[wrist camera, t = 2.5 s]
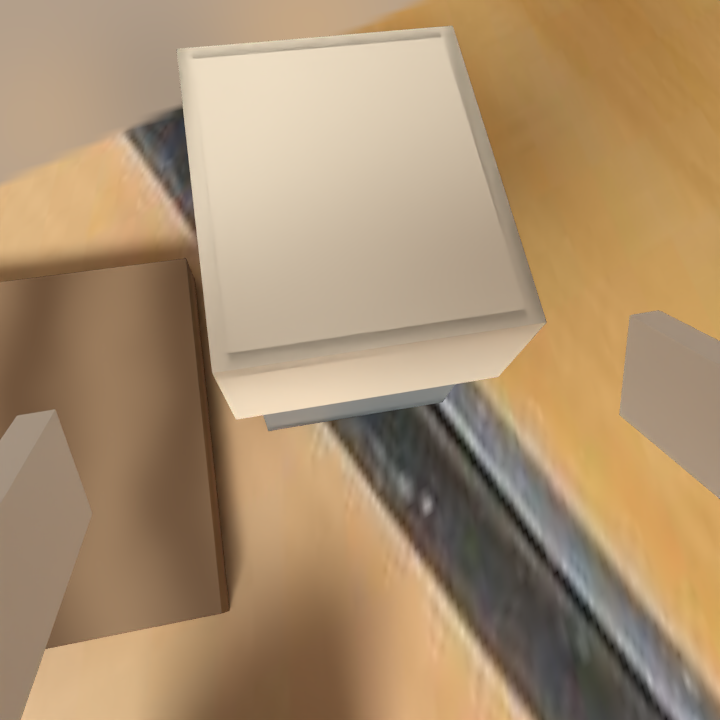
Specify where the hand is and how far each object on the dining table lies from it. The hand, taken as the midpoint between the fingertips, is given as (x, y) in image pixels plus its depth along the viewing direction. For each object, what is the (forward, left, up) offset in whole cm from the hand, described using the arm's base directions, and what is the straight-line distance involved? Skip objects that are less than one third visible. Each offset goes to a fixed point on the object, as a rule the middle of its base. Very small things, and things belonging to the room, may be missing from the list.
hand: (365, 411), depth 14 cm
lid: (-1, -8, -7) cm, 11 cm away
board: (+12, -4, -13) cm, 18 cm away
